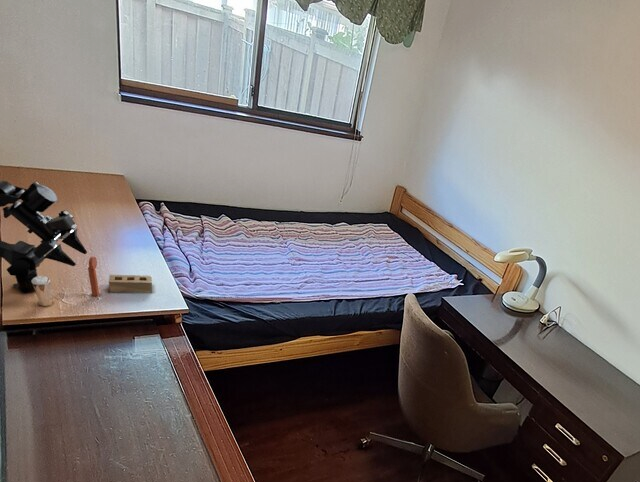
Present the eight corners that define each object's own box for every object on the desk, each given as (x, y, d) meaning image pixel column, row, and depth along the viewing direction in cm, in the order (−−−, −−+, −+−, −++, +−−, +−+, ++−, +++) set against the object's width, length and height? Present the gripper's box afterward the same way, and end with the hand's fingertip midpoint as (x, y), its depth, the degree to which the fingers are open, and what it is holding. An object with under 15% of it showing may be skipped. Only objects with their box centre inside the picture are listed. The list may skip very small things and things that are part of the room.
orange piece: (90, 297, 151) (84, 259, 143) (95, 291, 154) (89, 254, 146) (97, 298, 151) (91, 260, 143) (101, 292, 154) (96, 254, 147)
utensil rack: (111, 284, 159) (109, 274, 157) (152, 285, 165) (151, 275, 163) (110, 292, 156) (108, 282, 153) (152, 292, 161) (151, 282, 159)
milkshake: (48, 309, 141) (42, 280, 135) (33, 304, 141) (26, 275, 136) (60, 303, 145) (54, 275, 139) (45, 298, 145) (38, 270, 139)
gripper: (37, 215, 127) (87, 257, 136) (65, 195, 142) (108, 234, 150) (11, 237, 129) (61, 277, 138) (41, 215, 144) (85, 252, 153)
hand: (80, 259), depth 145 cm, fingers open, 9 cm apart
